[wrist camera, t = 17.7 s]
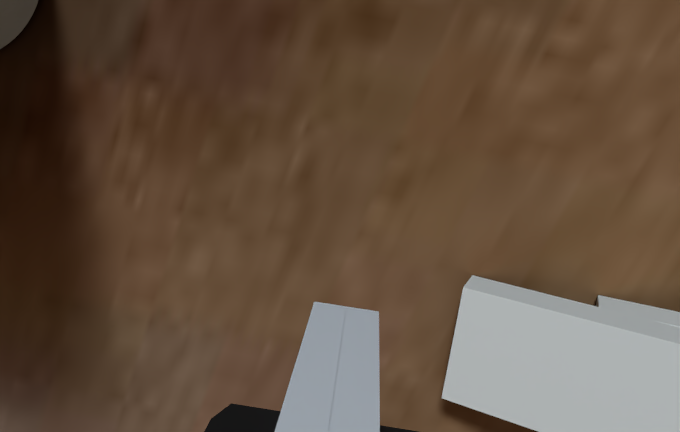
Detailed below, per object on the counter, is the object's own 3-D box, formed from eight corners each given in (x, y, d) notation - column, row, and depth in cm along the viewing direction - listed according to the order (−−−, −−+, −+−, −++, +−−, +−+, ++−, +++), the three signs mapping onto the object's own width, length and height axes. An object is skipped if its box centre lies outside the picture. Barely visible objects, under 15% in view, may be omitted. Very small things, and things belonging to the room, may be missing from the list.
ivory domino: (472, 275, 23) (776, 352, 19) (452, 378, 24) (735, 472, 20) (463, 287, 22) (796, 374, 17) (441, 398, 23) (750, 505, 19)
